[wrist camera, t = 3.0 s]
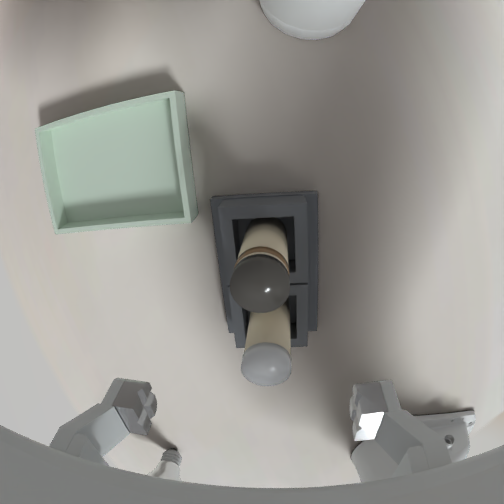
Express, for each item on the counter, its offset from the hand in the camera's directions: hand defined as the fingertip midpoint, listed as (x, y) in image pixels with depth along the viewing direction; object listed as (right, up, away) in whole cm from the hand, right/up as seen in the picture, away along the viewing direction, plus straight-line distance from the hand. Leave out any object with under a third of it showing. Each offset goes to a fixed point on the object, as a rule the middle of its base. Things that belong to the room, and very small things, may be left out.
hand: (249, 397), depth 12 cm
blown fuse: (+1, +7, +16) cm, 18 cm away
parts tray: (-13, +14, +16) cm, 24 cm away
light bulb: (-13, -28, +35) cm, 47 cm away
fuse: (+2, +1, +19) cm, 19 cm away
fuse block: (+2, +4, +19) cm, 19 cm away
